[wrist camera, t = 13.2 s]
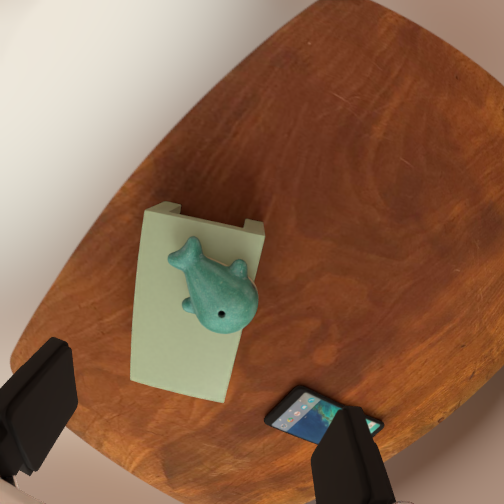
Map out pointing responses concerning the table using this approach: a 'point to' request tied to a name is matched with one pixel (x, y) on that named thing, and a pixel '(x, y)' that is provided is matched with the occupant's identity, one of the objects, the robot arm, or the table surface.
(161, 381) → the miniature table
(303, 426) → the smartphone
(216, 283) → the whale figurine
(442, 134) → the table surface
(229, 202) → the table surface
